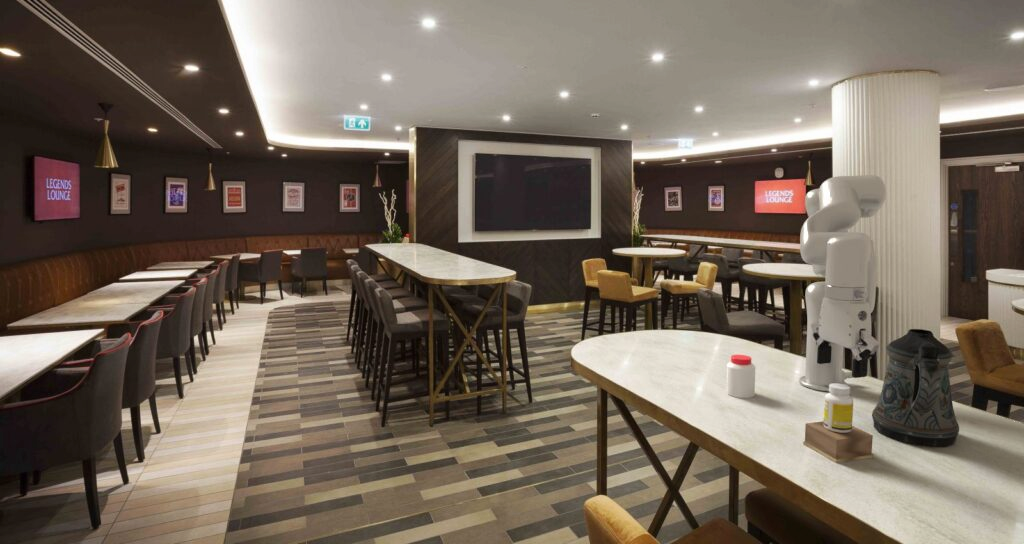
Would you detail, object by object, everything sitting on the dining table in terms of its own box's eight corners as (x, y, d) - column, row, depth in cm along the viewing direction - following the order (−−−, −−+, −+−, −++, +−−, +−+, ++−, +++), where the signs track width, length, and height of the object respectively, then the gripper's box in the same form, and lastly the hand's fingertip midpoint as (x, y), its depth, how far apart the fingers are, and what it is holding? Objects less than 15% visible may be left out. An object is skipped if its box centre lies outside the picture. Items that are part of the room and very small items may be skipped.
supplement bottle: (857, 431, 117) (860, 387, 116) (840, 435, 115) (842, 391, 114) (834, 422, 122) (836, 380, 121) (817, 426, 120) (819, 384, 119)
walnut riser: (838, 439, 124) (839, 419, 124) (873, 457, 115) (874, 435, 115) (803, 444, 123) (804, 423, 122) (835, 462, 113) (836, 440, 113)
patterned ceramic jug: (919, 418, 135) (926, 322, 133) (990, 453, 116) (999, 341, 113) (855, 420, 135) (861, 323, 132) (916, 456, 116) (924, 343, 113)
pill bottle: (737, 399, 152) (738, 361, 150) (720, 390, 159) (721, 354, 158) (760, 396, 154) (761, 359, 152) (742, 388, 161) (743, 352, 160)
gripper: (895, 299, 107) (890, 381, 110) (828, 285, 124) (825, 357, 126) (863, 302, 106) (859, 384, 108) (800, 288, 123) (797, 360, 125)
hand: (840, 369), depth 117 cm, fingers open, 9 cm apart
